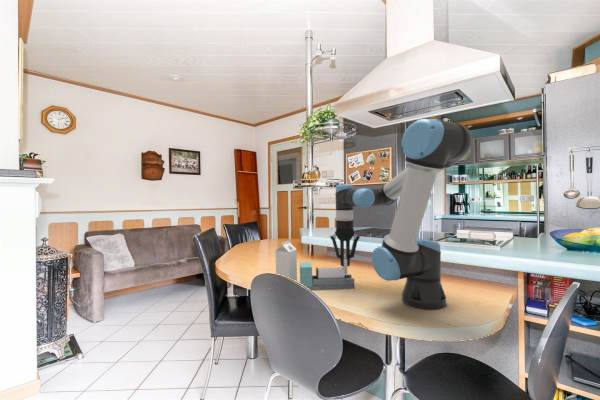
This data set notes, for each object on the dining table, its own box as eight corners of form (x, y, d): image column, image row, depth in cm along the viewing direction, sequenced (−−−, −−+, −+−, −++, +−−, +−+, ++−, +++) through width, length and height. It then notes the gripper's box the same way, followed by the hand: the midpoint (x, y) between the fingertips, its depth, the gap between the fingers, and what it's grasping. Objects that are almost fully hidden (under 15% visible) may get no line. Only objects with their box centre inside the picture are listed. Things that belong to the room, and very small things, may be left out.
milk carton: (276, 283, 135) (275, 242, 135) (284, 279, 142) (283, 239, 141) (289, 285, 132) (288, 243, 132) (297, 281, 138) (296, 240, 138)
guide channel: (354, 288, 126) (354, 279, 126) (300, 290, 126) (300, 280, 125) (350, 282, 135) (350, 273, 135) (300, 283, 135) (299, 275, 134)
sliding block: (344, 283, 128) (344, 269, 128) (316, 284, 128) (316, 270, 128) (342, 280, 133) (342, 266, 132) (316, 281, 132) (315, 267, 132)
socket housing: (312, 286, 126) (312, 267, 125) (300, 286, 125) (300, 267, 125) (311, 280, 135) (310, 262, 134) (299, 280, 134) (299, 262, 134)
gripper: (357, 218, 134) (358, 270, 135) (328, 219, 134) (329, 271, 134) (361, 220, 126) (361, 275, 127) (330, 220, 126) (331, 276, 127)
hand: (345, 273), depth 131 cm, fingers closed
